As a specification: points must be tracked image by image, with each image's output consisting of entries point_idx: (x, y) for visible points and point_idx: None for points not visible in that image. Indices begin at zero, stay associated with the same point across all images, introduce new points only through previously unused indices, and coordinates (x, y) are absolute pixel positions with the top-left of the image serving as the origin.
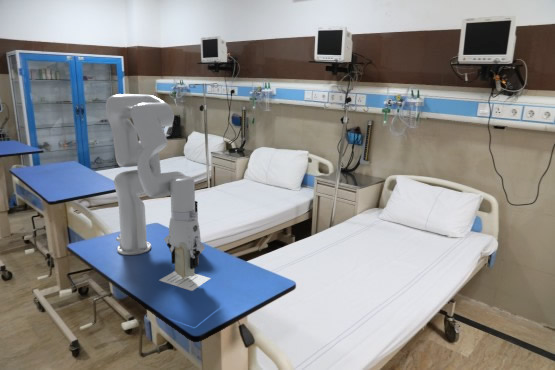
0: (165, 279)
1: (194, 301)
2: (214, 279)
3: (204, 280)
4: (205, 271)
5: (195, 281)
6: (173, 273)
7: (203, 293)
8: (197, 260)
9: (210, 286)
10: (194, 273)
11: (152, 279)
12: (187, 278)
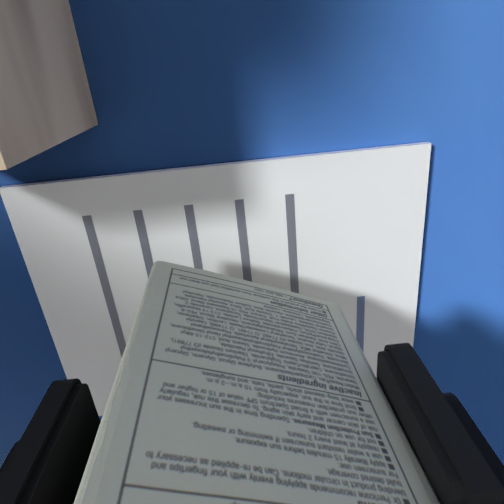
0: (107, 385)
1: (490, 433)
2: (462, 124)
3: (400, 216)
4: (264, 31)
5: (338, 274)
6: (58, 288)
7: (494, 346)
8: (486, 453)
9: (493, 246)
10: (217, 168)
11: (22, 421)
12: (240, 278)
